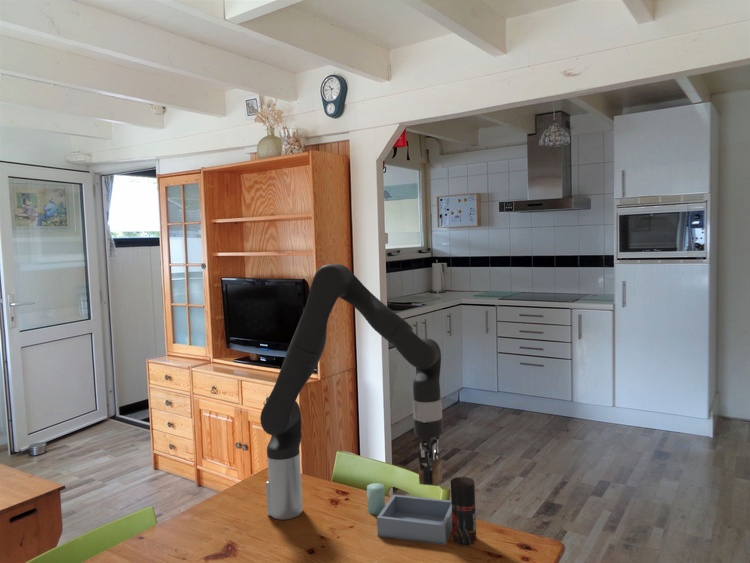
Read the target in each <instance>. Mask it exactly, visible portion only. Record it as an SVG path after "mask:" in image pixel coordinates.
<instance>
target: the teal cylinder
mask: <svg viewBox="0 0 750 563" xmlns="http://www.w3.org/2000/svg"><path fill="white" fill-rule="evenodd" d="M385 494H386V493H385V485H384V484H383V483H380V482H373V483H370V484H368V485H367V486H366V495H367V513H369V514H370V515H375V516H378V515H379V514H380V512H381V511H382V510H383V508H384V507H385V505H386V495H385Z"/></svg>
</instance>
